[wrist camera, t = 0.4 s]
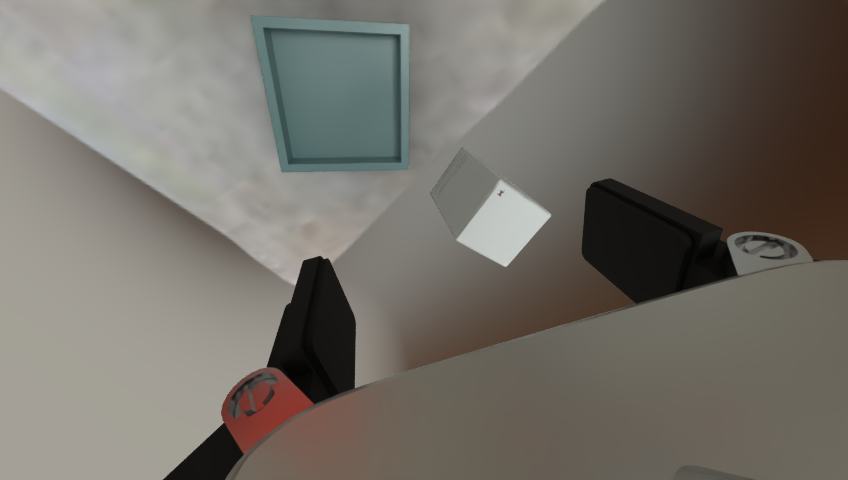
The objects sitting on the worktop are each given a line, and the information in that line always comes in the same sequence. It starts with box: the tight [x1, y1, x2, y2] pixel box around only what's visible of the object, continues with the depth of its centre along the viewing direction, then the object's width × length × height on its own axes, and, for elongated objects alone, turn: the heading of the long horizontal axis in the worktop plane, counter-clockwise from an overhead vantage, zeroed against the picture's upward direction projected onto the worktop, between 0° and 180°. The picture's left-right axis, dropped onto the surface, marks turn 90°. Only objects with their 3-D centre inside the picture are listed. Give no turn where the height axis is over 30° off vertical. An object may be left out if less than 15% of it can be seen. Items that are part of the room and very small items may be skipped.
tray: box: [251, 15, 409, 172], centre depth 32 cm, size 14×14×3 cm
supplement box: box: [431, 147, 551, 267], centre depth 36 cm, size 7×7×13 cm
